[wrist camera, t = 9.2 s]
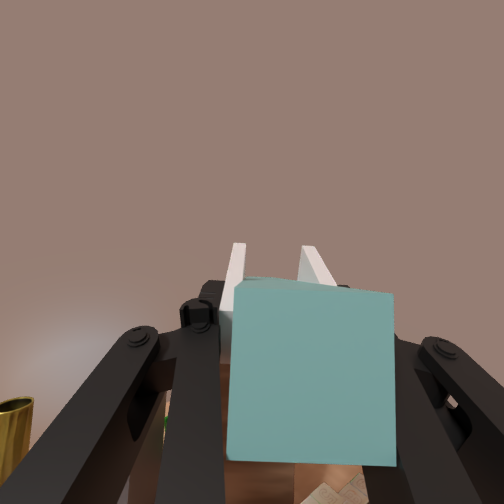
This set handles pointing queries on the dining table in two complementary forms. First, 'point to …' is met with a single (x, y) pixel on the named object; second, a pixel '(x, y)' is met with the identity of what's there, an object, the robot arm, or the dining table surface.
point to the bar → (311, 374)
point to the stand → (252, 467)
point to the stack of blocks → (340, 493)
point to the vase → (14, 433)
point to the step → (146, 464)
